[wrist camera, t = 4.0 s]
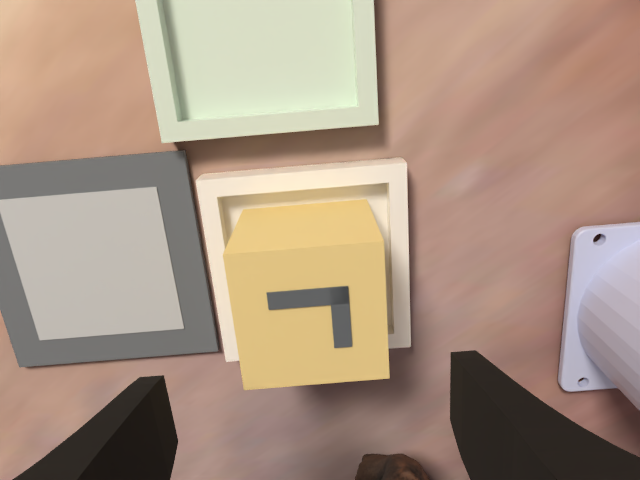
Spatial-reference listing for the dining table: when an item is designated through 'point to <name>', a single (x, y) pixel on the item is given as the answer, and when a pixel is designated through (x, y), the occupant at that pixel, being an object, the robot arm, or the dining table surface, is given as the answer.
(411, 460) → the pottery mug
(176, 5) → the dish green
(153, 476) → the robot arm
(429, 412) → the dining table surface
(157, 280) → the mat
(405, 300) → the dish white
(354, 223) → the letter cube
